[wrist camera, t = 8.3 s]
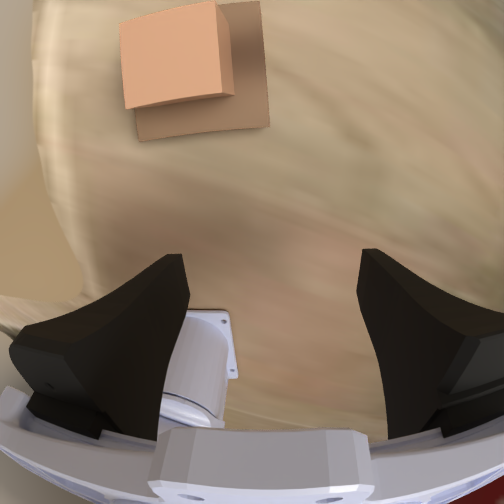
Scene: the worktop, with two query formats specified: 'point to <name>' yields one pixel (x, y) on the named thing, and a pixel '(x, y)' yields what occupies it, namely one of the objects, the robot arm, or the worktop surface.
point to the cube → (176, 56)
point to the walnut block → (226, 107)
